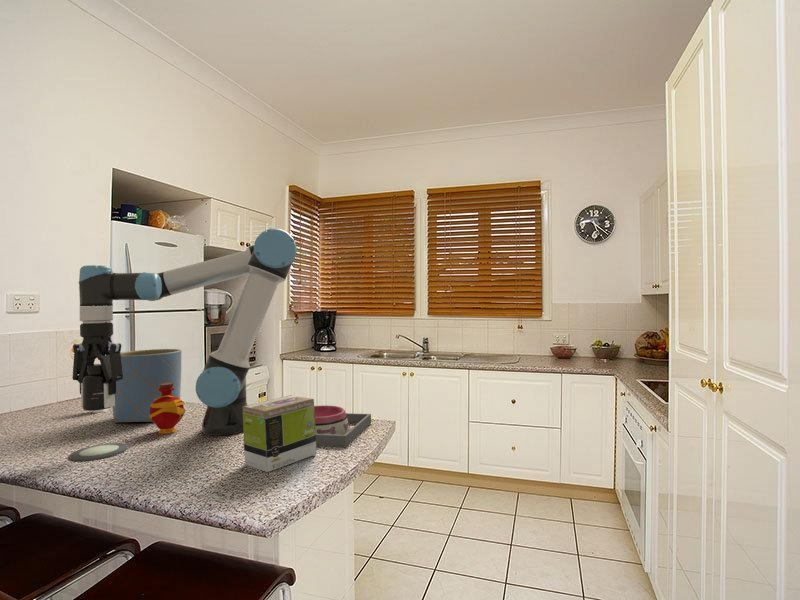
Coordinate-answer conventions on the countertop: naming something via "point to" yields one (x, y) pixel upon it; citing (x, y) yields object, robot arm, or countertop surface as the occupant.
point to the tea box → (279, 432)
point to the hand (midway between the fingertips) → (98, 406)
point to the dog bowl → (330, 420)
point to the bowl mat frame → (346, 439)
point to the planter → (145, 382)
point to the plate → (98, 451)
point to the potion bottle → (166, 409)
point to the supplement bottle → (94, 388)
